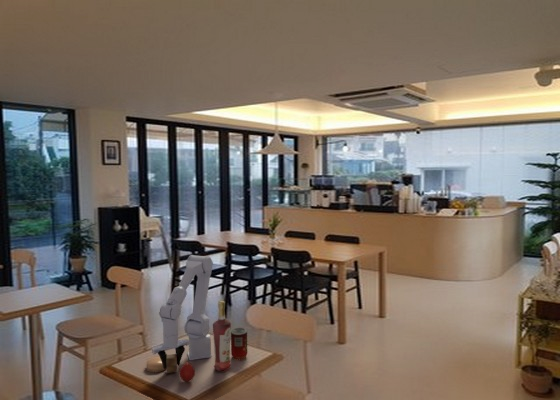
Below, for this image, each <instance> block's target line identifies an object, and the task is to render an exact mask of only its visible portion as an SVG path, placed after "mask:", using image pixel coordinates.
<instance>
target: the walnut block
mask: <svg viewBox="0 0 560 400" xmlns="http://www.w3.org/2000/svg"><path fill="white" fill-rule="evenodd" d="M166 365H167V369H166V374H169V373H175V372H178V365H177V357H176V353H173V354H167V358H166Z"/></svg>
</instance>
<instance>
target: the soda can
mask: <svg viewBox="0 0 560 400" xmlns="http://www.w3.org/2000/svg"><path fill="white" fill-rule="evenodd" d="M247 355H248V331H247V329H246V328H243V327H236V328H235V327H234V328H233V329H232V330H231V337H230V356H231V357H232V359H233V360H235V361H243V360H245V359H246V358H247Z"/></svg>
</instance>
